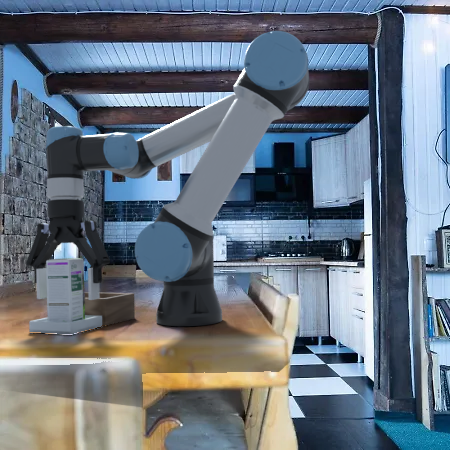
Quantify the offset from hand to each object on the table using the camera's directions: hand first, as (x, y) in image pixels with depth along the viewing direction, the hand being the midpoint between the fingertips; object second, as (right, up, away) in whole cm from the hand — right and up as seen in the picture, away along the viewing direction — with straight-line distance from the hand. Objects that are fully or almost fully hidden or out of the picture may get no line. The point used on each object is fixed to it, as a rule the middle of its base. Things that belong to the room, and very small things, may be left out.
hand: (67, 299), depth 106 cm
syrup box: (0, -6, 0) cm, 6 cm away
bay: (+3, -7, +12) cm, 14 cm away
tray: (0, -7, 0) cm, 7 cm away
